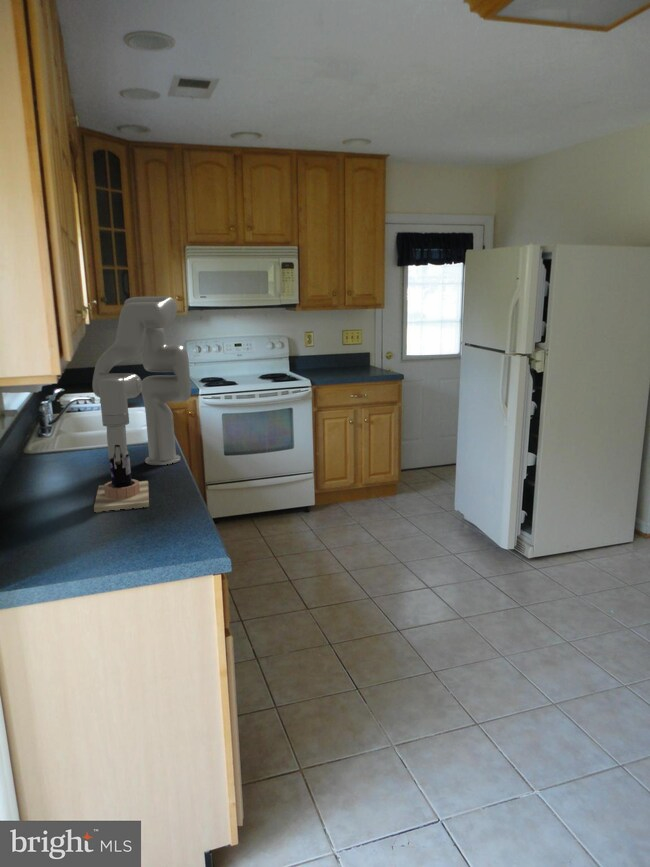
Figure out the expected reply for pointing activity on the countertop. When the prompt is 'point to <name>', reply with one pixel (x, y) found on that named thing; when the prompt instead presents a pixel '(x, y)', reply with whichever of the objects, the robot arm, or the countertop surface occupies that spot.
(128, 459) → the beverage can
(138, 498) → the base board
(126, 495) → the segmented ring
